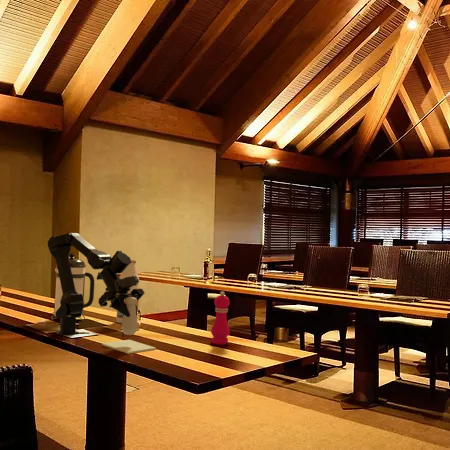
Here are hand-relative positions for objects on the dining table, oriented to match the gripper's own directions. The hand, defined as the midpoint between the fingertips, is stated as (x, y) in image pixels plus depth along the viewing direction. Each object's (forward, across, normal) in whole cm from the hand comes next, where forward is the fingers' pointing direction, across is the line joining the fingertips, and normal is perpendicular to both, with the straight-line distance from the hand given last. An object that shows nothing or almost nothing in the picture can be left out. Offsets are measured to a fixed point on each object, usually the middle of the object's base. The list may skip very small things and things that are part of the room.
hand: (132, 315), depth 194 cm
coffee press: (-31, +20, +49) cm, 62 cm away
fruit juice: (-17, +35, +34) cm, 51 cm away
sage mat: (+7, 0, +9) cm, 11 cm away
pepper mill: (+20, +31, -4) cm, 37 cm away
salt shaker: (+4, 0, +6) cm, 7 cm away
